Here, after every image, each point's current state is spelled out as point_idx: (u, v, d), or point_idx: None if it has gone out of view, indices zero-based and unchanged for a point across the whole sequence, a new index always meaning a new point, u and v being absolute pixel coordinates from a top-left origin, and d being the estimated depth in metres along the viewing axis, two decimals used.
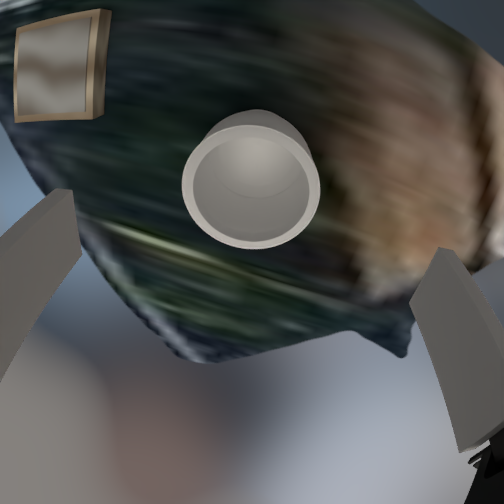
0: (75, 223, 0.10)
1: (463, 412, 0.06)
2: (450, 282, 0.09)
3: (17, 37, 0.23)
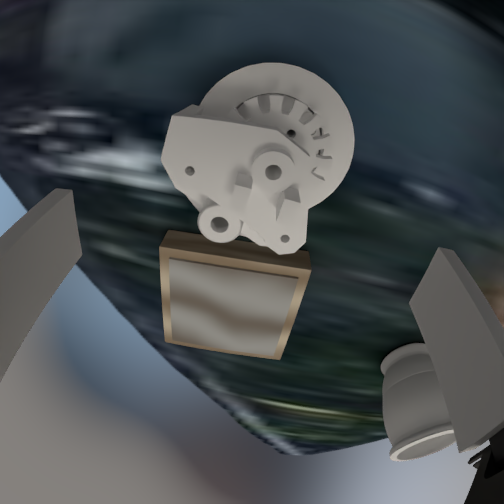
0: (75, 223, 0.10)
1: (463, 412, 0.06)
2: (450, 282, 0.09)
3: (163, 259, 0.29)
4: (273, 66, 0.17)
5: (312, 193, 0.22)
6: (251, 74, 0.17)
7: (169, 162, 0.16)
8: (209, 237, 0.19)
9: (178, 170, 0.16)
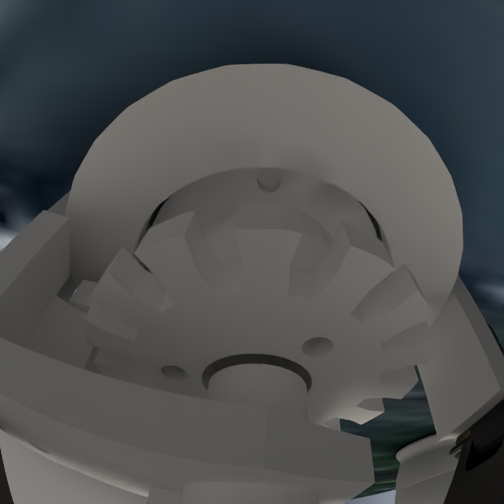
0: None
1: (442, 399, 0.07)
2: None
3: None
4: (259, 77, 0.05)
5: None
6: (188, 107, 0.05)
7: None
8: None
9: (16, 437, 0.04)
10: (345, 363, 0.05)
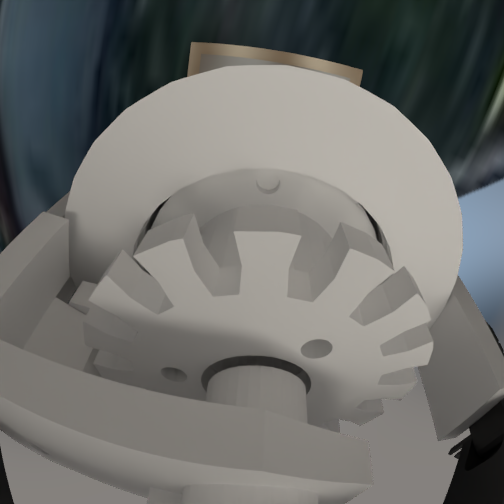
0: None
1: (441, 399, 0.07)
2: None
3: None
4: (258, 78, 0.05)
5: None
6: (187, 109, 0.05)
7: None
8: None
9: (17, 438, 0.04)
10: (344, 365, 0.05)
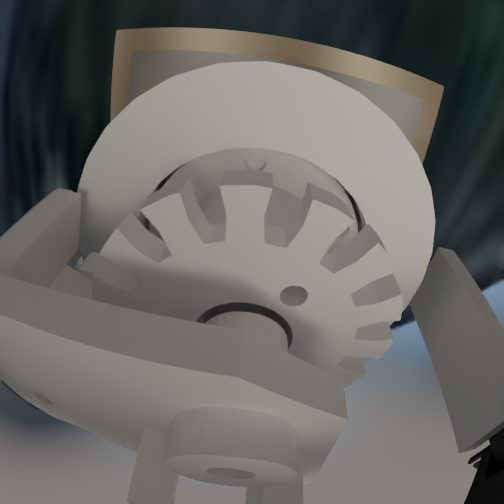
0: None
1: (463, 412, 0.06)
2: (450, 281, 0.09)
3: None
4: (244, 72, 0.06)
5: None
6: (185, 98, 0.06)
7: (2, 374, 0.05)
8: (133, 451, 0.08)
9: (23, 390, 0.05)
10: (320, 314, 0.06)
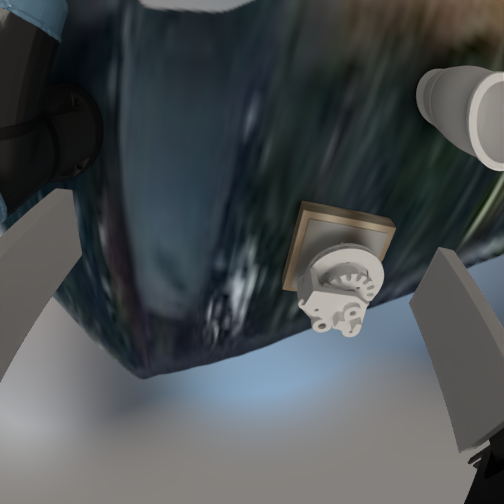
0: (75, 223, 0.10)
1: (463, 412, 0.06)
2: (451, 281, 0.09)
3: (292, 289, 0.49)
4: (351, 250, 0.37)
5: None
6: (340, 253, 0.38)
7: (308, 306, 0.36)
8: (316, 331, 0.40)
9: (311, 309, 0.37)
10: (361, 291, 0.38)
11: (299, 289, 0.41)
